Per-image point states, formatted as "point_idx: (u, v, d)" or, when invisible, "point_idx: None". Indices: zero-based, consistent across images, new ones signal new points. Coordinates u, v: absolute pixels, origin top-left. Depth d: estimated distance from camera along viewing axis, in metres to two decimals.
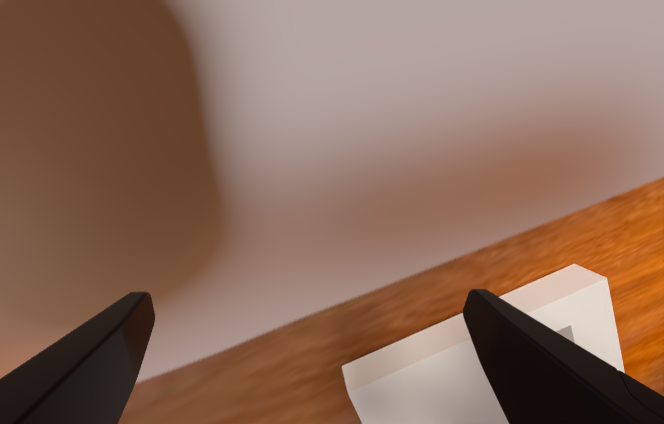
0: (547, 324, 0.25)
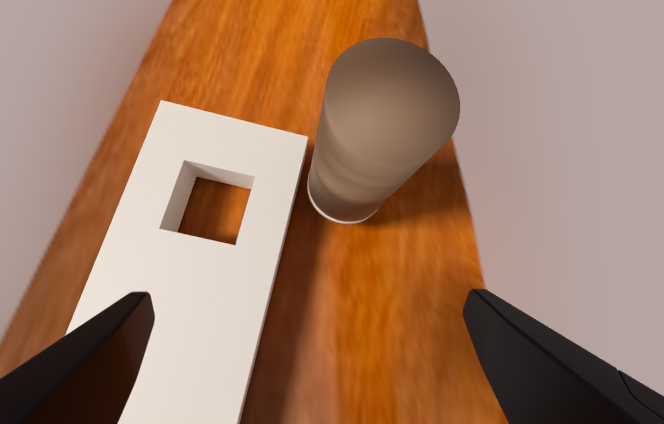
0: (158, 182, 0.20)
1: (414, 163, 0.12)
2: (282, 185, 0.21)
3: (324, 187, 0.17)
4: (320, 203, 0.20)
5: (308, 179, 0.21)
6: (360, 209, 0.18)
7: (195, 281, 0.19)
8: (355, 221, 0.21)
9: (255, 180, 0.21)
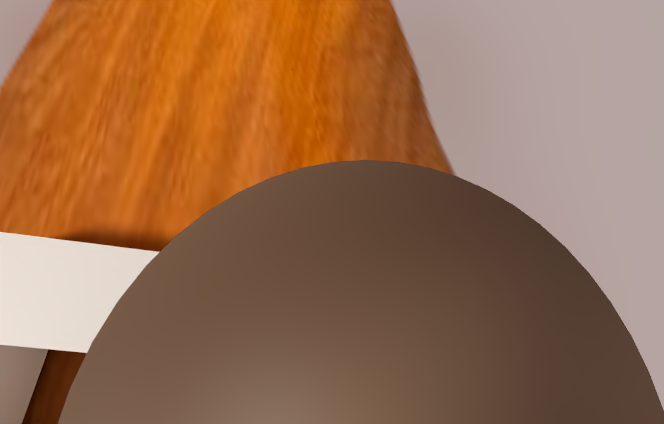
0: None
1: None
2: None
3: None
4: None
5: None
6: None
7: None
8: None
9: None
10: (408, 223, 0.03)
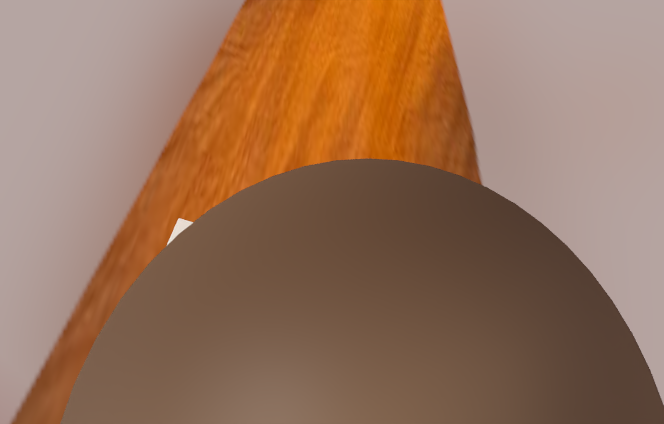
0: None
1: None
2: None
3: None
4: None
5: None
6: None
7: None
8: None
9: None
10: (410, 221, 0.03)
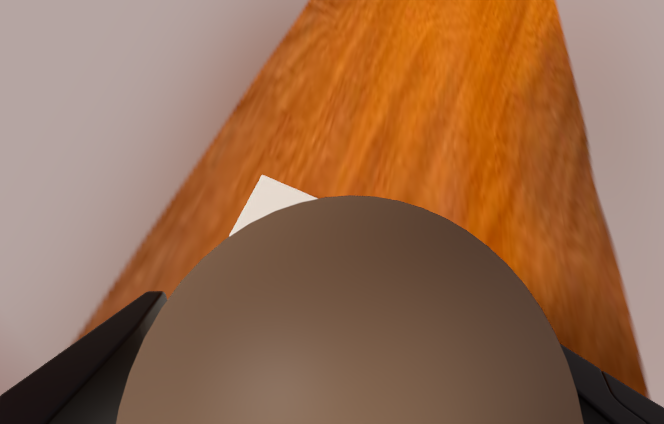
0: None
1: None
2: None
3: None
4: None
5: None
6: None
7: None
8: None
9: None
10: (382, 246, 0.04)
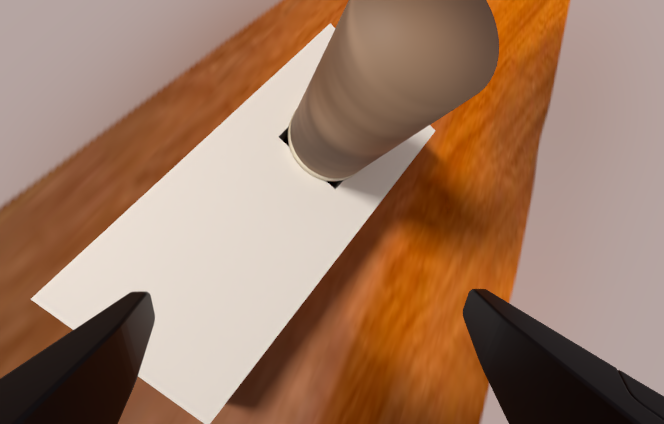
0: (295, 95, 0.20)
1: (433, 110, 0.10)
2: (396, 160, 0.21)
3: (313, 125, 0.15)
4: (300, 147, 0.17)
5: (292, 118, 0.19)
6: (345, 162, 0.16)
7: (288, 202, 0.19)
8: (332, 178, 0.19)
9: None
10: None
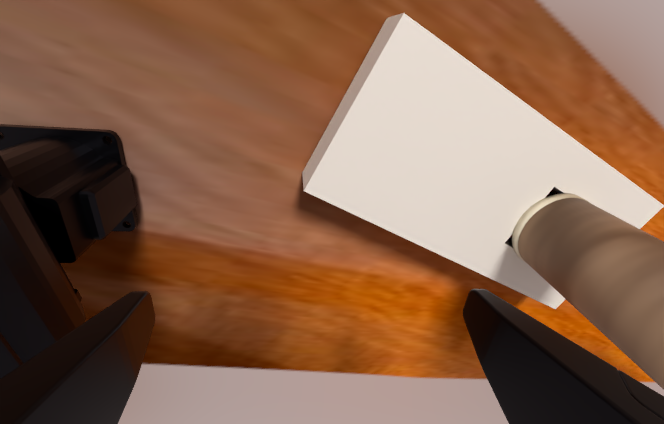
0: (593, 192, 0.21)
1: (663, 374, 0.13)
2: (529, 284, 0.24)
3: (596, 242, 0.16)
4: (555, 217, 0.19)
5: (574, 197, 0.20)
6: (553, 266, 0.18)
7: (493, 208, 0.20)
8: (518, 242, 0.21)
9: None
10: None
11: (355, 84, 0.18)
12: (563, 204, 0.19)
